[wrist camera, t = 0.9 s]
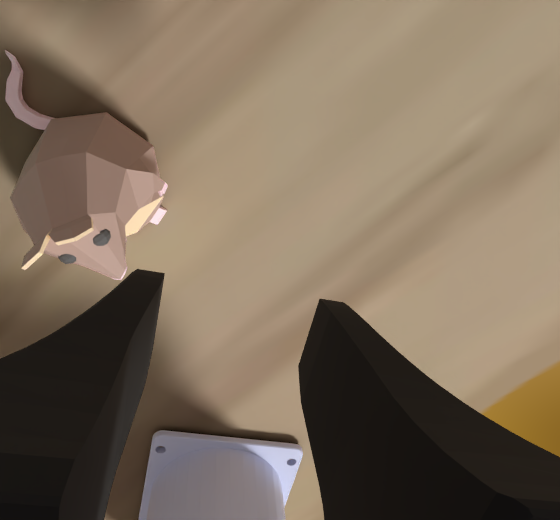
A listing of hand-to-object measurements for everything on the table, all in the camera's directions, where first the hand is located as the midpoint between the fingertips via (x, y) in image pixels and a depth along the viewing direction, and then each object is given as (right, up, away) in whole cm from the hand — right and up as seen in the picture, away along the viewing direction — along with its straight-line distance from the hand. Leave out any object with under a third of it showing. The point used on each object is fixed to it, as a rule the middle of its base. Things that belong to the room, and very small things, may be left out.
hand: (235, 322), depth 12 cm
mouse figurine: (-7, +6, +7) cm, 11 cm away
